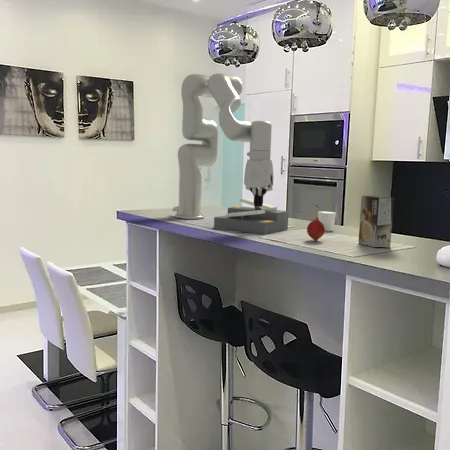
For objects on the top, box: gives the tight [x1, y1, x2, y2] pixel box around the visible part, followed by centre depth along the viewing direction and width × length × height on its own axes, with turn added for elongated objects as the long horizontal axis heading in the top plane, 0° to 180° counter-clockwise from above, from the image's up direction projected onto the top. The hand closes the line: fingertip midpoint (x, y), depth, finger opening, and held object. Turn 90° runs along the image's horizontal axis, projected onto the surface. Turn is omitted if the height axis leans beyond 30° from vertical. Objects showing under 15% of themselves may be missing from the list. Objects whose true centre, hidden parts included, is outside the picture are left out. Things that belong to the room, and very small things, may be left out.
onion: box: [306, 216, 326, 242], centre depth 169 cm, size 6×6×8 cm
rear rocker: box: [239, 197, 278, 211], centre depth 195 cm, size 14×5×1 cm, turn 56°
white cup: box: [317, 210, 337, 232], centre depth 197 cm, size 7×7×7 cm
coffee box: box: [358, 194, 395, 248], centre depth 164 cm, size 9×6×16 cm
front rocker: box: [225, 210, 265, 217], centre depth 188 cm, size 14×5×1 cm, turn 56°
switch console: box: [213, 205, 290, 235], centre depth 192 cm, size 22×18×8 cm
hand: (258, 206), depth 185 cm, fingers closed
